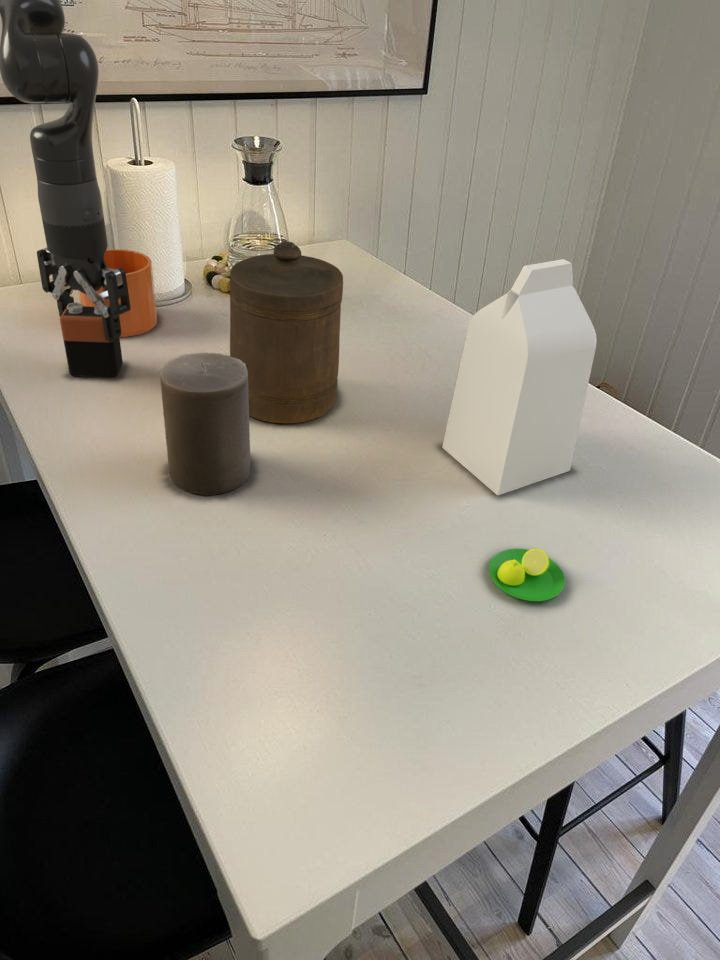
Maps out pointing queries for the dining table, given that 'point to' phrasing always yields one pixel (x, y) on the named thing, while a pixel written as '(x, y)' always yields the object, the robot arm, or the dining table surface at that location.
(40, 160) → the robot arm
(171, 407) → the pillar candle
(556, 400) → the milk
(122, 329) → the pot
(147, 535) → the dining table surface
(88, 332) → the battery
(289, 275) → the wooden container
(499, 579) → the plate of lemons
